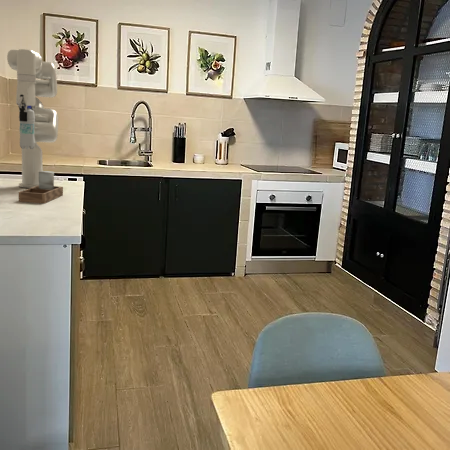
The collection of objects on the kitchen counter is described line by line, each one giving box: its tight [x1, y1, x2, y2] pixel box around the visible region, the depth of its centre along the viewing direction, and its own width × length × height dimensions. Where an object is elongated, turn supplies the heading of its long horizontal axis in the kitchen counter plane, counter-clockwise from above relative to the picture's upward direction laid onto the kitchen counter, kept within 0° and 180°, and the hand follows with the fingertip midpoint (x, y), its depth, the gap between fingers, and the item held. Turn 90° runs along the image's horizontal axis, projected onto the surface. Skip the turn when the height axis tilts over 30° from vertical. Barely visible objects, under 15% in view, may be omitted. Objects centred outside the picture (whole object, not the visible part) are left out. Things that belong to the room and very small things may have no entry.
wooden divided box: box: [18, 170, 64, 204], centre depth 220 cm, size 22×11×11 cm, turn 178°
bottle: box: [18, 104, 35, 150], centre depth 223 cm, size 7×7×20 cm
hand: (27, 120), depth 223 cm, fingers closed on bottle, 6 cm apart
